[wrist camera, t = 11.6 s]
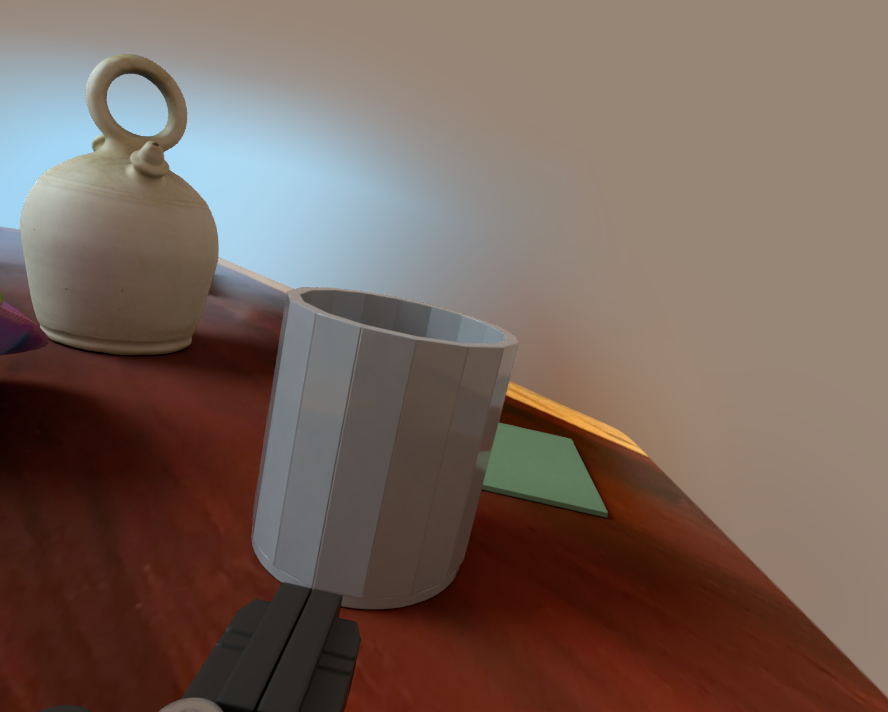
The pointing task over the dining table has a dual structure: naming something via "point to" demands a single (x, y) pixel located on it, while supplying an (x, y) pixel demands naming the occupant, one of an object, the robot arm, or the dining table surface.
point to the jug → (120, 234)
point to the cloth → (541, 470)
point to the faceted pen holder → (376, 444)
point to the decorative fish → (18, 331)
